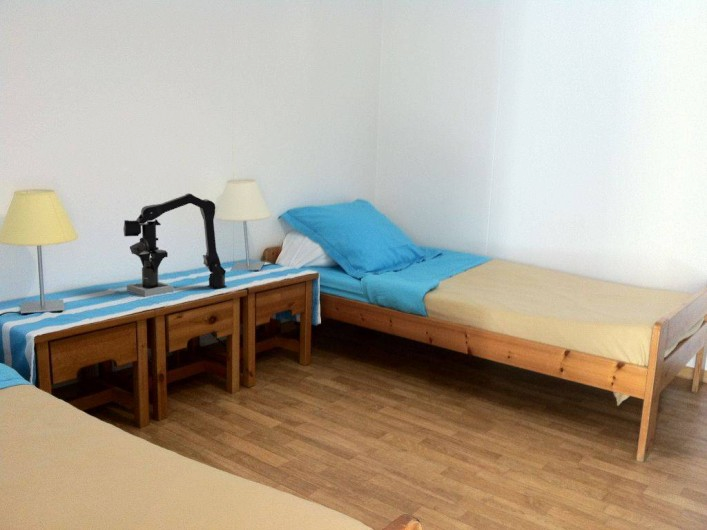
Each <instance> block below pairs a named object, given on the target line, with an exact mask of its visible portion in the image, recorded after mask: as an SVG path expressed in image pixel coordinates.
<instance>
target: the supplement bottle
mask: <svg viewBox="0 0 707 530" xmlns="http://www.w3.org/2000/svg"><path fill="white" fill-rule="evenodd" d="M144 265H145V266H143V265H142V267H141V283H142V287H143V288H148V289H151V288H157V287H158V282H159V268H158V269H157V271H156V273H154V272H153V266H152V261H151V260H150V258H149V259H146V260H144Z"/></svg>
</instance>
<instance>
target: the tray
mask: <svg viewBox="0 0 707 530" xmlns="http://www.w3.org/2000/svg"><path fill="white" fill-rule="evenodd" d="M126 290H127V291H128V292H129V291H130V293H133V294H136V295H138V296H141V297H145V296H146V297H151V295H152V296H156V295H155V294H157V295H161V293H163V294H168V293H167V292H169V293H173V292H174V285H172V284H168V283H165V282H161V281H158V287H157V288H151V289H148V288H143V287H142V282H137V283H131V284H130V283H129V284H126Z"/></svg>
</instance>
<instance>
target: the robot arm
mask: <svg viewBox="0 0 707 530" xmlns="http://www.w3.org/2000/svg"><path fill="white" fill-rule="evenodd" d="M189 204H191V205H193V206H195V207H198V208H199V212H200V214H201V217H202V220H203V225H204V227H203V228H204V237H205V247H206V253H205V254H203V255H202V257H203V265H204V267H206V268H207V269H208V270H209V272H210V274H209V278H208V284H207V287H208V288H211V289H215V290H216V289H217V290H218V289H219V290H220V289H223V288H227V287H228V285H226V284H225V283H226V281H225V280H226V272H227V271H226V269H225V268H223V267H222V264H221V260H220V257H219V254H218V252H217V245H216V244H217V243H216V234H215V223H214V219H215V215H216V204H215V203H214V202H213V201H212V200H209V199H201V198H199V197H197V196H195V195H194V194H193V193H186V194H184V195H182V196H179V197H175V198H173V199H170V200H168V201H164V202H163V203H157V204H150V205H145V206H143V207H142V208H141V210H140V215H138V217H137V218H136V220H128V219H126V220H124V221H123V236H124V237H139V236H140V235H141V234H142V235H141V236H142V237H140V238H139V242H135V243H134V244H132V245H130V246H129V249H130V253H131V254H132V255H135V256H136V257H138V258H139V260H140V262H141V264H142V267H143V266H145V265H144V260H146V259H150V260H151V261H152V266H153V272H154V273H156V271H157V269H158V270H159V268H160V264H161V263H162V261H163V259H165V258H168V251H167V250H164V249H159V247H158V246H157V241H159V237H157V226H161V223H160V222H159V220H158V219H157V218H159V217H161V216H162V215H163V214H165V213H167V212H171V211H172V210H176V209H179V208H181V207H183V206H187V205H189Z"/></svg>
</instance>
